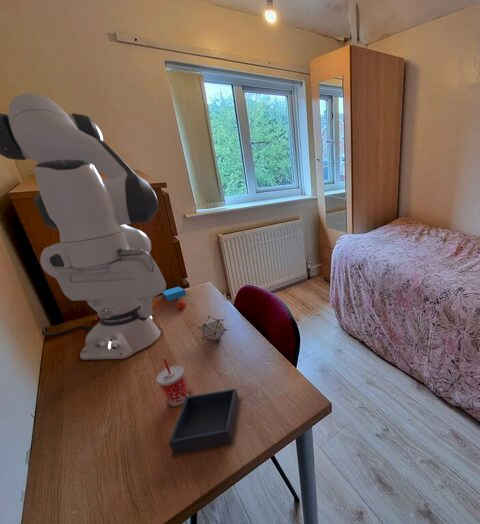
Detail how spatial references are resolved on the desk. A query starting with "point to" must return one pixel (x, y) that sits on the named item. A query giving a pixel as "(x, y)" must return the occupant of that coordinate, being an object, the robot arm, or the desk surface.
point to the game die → (212, 329)
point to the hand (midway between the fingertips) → (127, 316)
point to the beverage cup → (173, 384)
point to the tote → (205, 421)
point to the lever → (175, 296)
